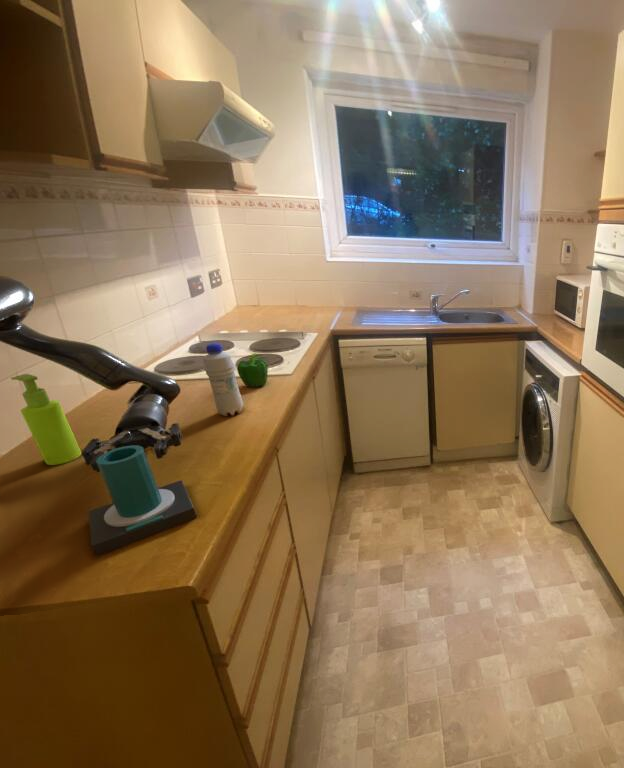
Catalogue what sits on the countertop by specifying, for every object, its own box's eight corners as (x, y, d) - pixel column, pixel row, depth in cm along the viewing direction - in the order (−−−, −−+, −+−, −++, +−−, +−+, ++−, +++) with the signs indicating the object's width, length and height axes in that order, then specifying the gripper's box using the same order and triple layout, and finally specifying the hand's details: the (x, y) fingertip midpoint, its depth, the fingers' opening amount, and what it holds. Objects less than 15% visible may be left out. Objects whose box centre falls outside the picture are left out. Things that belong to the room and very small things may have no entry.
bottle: (211, 417, 118) (191, 347, 110) (229, 406, 124) (211, 339, 116) (234, 418, 117) (215, 348, 109) (251, 408, 123) (234, 340, 115)
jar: (120, 522, 75) (97, 468, 71) (117, 505, 79) (95, 454, 75) (164, 506, 79) (145, 454, 75) (159, 491, 83) (140, 441, 79)
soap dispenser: (68, 448, 102) (32, 369, 95) (87, 453, 100) (53, 373, 93) (36, 461, 97) (-4, 379, 89) (56, 467, 95) (17, 383, 87)
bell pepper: (249, 392, 133) (241, 361, 130) (237, 385, 138) (229, 356, 134) (276, 383, 140) (270, 354, 136) (264, 378, 144) (257, 349, 140)
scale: (96, 556, 71) (90, 543, 70) (92, 520, 79) (87, 508, 78) (197, 517, 80) (192, 505, 79) (184, 488, 88) (180, 477, 87)
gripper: (189, 431, 96) (182, 467, 83) (105, 448, 89) (83, 490, 76) (179, 400, 93) (171, 432, 80) (92, 415, 86) (67, 453, 73)
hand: (128, 460), depth 78 cm, fingers open, 8 cm apart
